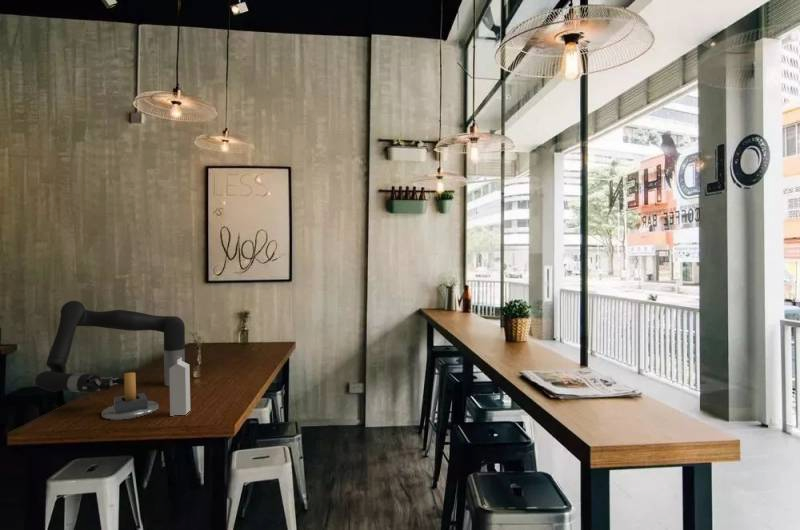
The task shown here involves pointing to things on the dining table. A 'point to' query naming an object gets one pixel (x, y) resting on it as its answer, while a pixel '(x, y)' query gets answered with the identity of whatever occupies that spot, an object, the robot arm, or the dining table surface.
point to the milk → (179, 388)
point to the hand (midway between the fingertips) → (117, 384)
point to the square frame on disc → (130, 408)
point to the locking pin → (130, 386)
